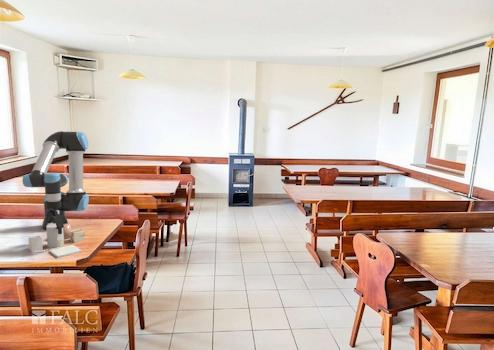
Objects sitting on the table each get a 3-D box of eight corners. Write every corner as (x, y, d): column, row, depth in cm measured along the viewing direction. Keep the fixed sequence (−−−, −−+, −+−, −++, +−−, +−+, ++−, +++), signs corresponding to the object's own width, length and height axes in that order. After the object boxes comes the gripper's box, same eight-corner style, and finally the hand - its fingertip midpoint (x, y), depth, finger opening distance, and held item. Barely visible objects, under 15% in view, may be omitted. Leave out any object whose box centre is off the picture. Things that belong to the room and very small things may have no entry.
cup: (56, 248, 179) (55, 228, 177) (44, 247, 181) (42, 226, 179) (67, 243, 187) (66, 224, 185) (55, 242, 189) (54, 222, 187)
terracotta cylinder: (58, 237, 197) (57, 225, 195) (68, 235, 201) (68, 223, 200) (62, 239, 193) (61, 227, 192) (72, 237, 197) (72, 225, 196)
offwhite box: (29, 250, 176) (28, 237, 175) (39, 247, 180) (38, 235, 179) (32, 252, 173) (31, 240, 172) (42, 250, 177) (41, 238, 176)
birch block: (70, 240, 193) (69, 230, 192) (80, 238, 197) (80, 228, 196) (74, 243, 189) (74, 233, 188) (84, 240, 193) (84, 231, 192)
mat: (49, 251, 174) (49, 250, 174) (72, 246, 183) (72, 244, 183) (57, 258, 167) (57, 256, 166) (81, 251, 176) (81, 250, 176)
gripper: (38, 197, 185) (40, 233, 188) (54, 204, 169) (56, 243, 172) (52, 196, 191) (54, 230, 193) (69, 202, 175) (71, 240, 178)
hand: (55, 236), depth 183 cm, fingers open, 13 cm apart
